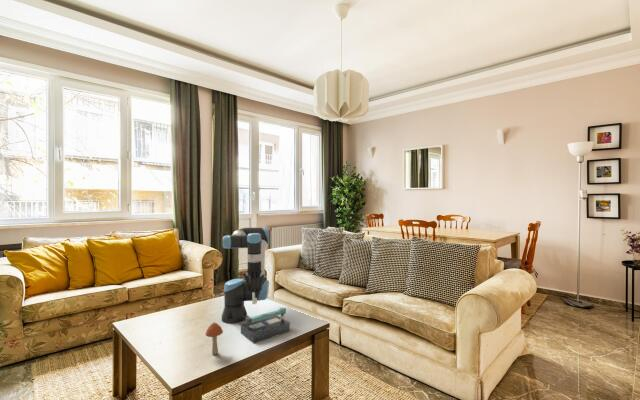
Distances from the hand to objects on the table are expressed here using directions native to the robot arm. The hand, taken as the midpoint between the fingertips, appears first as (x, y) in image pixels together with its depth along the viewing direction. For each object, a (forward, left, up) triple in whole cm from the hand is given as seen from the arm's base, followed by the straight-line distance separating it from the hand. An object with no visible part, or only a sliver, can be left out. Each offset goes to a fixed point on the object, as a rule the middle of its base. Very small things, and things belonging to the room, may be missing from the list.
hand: (254, 303), depth 181 cm
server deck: (+6, +3, -15) cm, 17 cm away
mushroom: (+12, -27, -15) cm, 33 cm away
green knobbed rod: (+6, +4, -8) cm, 11 cm away
